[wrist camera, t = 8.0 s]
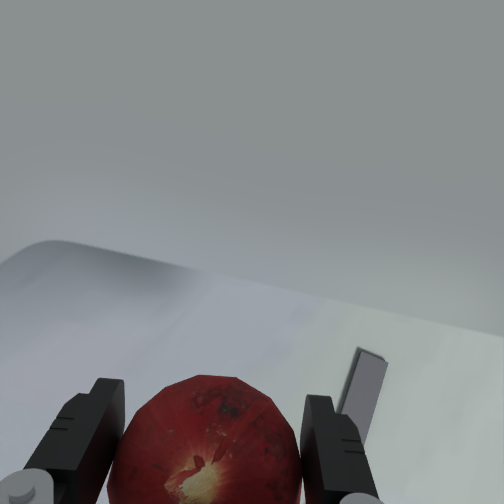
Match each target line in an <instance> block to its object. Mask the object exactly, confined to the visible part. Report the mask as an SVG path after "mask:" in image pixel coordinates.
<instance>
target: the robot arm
mask: <svg viewBox="0 0 504 504" xmlns="http://www.w3.org/2000/svg"><path fill="white" fill-rule="evenodd" d="M124 426H125V392H124V381H123V380H121V379H108V378H98V379H97V381H96V382H95V384H94V386H93V387H92V389H91V391H90V393H89V394H82V393H78V394H77V395H76V396H74V397H73V398H72V399H70V400H69V401H68V402H67V403H65V404H64V406H63V407H62V409H61V411H60V412H59V414H58V415H57V417H56V419H55V420H54V421H53V423H52V425H51V426H50V429H49V430H48V431H47V432H46V434H45V436H44V437H43V439H42V440H41V442H40V443H39V445H38V446H37V448H36V450H35V451H34V453H33V454H32V456H31V457H30V459H29V461H28V462H27V464H26V465H25V467H24V468H23V470H21V471H17V472H15V473H13V474H11V475H9V476H7V477H6V478H4V479H3V480H2V481H0V504H96V501H97V499H98V496H99V494H100V491H101V489H102V487H103V484H104V482H105V479H106V477H107V474H108V472H109V469H110V467H111V464H112V462H113V459H114V456H115V452H116V448H117V445H118V443H119V441H120V439H121V438H122V436H123V432H124ZM300 457H301V462H302V467H303V482H304V491H305V500H306V504H384V503H383V502H382V501H380V500H379V497H378V494H377V490H376V487H375V484H374V480H373V477H372V474H371V471H370V467H369V464H368V461H367V457H366V455H365V451H364V447H363V444H362V443H361V437H360V434H359V431H358V427H357V426H356V425H355V423H354V422H353V421H352V420H351V419H350V417H349V416H348V415H347V414H335V411H334V407H333V403H332V399H331V397H330V396H321V395H308V394H307V396H306V400H305V407H304V414H303V421H302V427H301V435H300Z"/></svg>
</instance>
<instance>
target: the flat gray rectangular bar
mask: <svg viewBox="0 0 504 504" xmlns="http://www.w3.org/2000/svg"><path fill="white" fill-rule="evenodd" d="M387 366H388V362H386V361H384V360H381V359H379V358H377V357H374V356H372V355H370V354H367V353H365V352H363V351H361V352H360V355H359V358H358V361H357V364H356V367H355V370H354V373H353V376H352V379H351V382H350V385H349V388H348V392H347V395H346V398H345V401H344V404H343V407H342V410H341V413H340V414H347V415H348V416H349V417H350V419H351V420H352V421H353V422H354V423H355V425H356V426H357V427H358V431H359V434H360V437H361V443H362V444H363V447H364V444H365V440H366V437H367V434H368V430H369V427H370V423H371V420H372V417H373V413H374V410H375V406H376V403H377V400H378V396H379V393H380V389H381V386H382V383H383V379H384V376H385V372H386V369H387Z"/></svg>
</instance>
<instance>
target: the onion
mask: <svg viewBox="0 0 504 504" xmlns="http://www.w3.org/2000/svg"><path fill="white" fill-rule="evenodd" d="M302 478H303V467H302V462H301V458H300V454H299V450H298V446H297V442H296V438H295V434H294V431H293V429H292V428H291V426H290V425H289V423H288V422H287V421H286V419H285V418H284V416H283V415H282V414H281V412H280V411H279V409H278V408H277V406H276V405H275V404H274V402H273V401H272V399H271V398H270V397H268V396H266V395H265V394H263V393H261V392H260V391H258V390H256V389H255V388H253V387H251V386H250V385H248V384H247V383H245V382H243V381H242V380H240V379H238V378H237V377H224V376H211V375H197V376H194V377H191V378H189V379H186V380H183V381H181V382H178V383H175V384H173V385H170V386H167V387H165V388H164V389H162V390H161V391H160V392H159V393H158V394H157V395H155V396H154V397H153V398H152V399H151V400H149V401H148V402H147V403H146V404H145V405H143V406H142V407H141V408H140V409H139V410H138V411H137V412H136V413H135V415H134V417H133V419H132V420H131V422H130V424H129V426H128V427H127V429H126V431H125V432H124V434H123V436H122V438H121V439H120V441H119V443H118V445H117V448H116V452H115V456H114V459H113V463H112V467H111V471H110V475H109V479H108V483H107V492H108V498H109V504H300V496H301V487H302Z"/></svg>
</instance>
